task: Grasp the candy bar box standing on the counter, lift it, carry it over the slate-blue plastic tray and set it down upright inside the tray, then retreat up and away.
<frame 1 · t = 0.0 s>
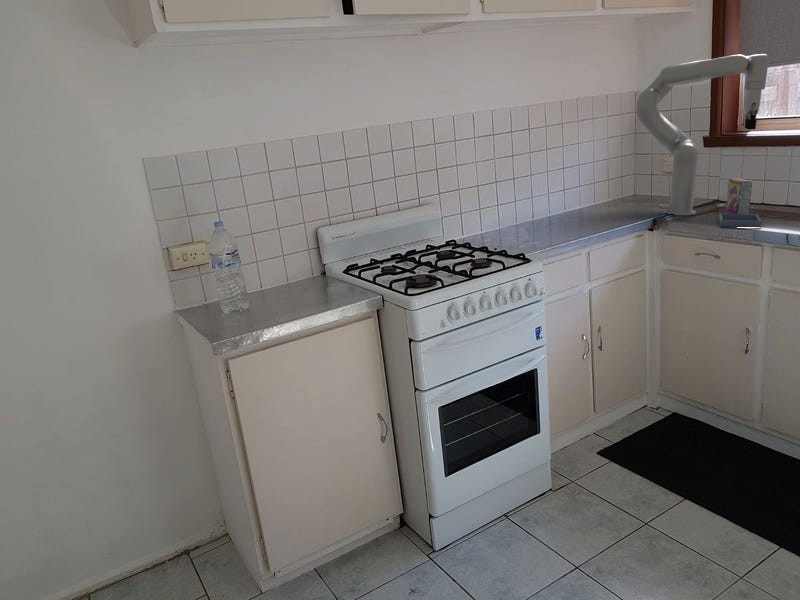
hand: (749, 128, 270), 37 cm above the worktop, tool pointing down, fingers open, 9 cm apart
mug: (680, 206, 309), on the worktop
candy bar box: (735, 218, 274), on the worktop
tray: (738, 224, 260), on the worktop
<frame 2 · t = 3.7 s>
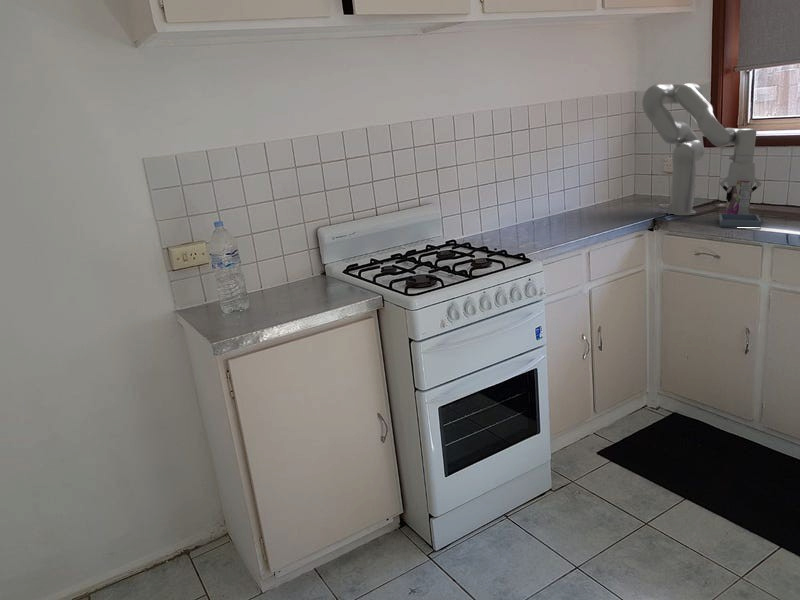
hand: (738, 201, 272), 7 cm above the worktop, tool pointing down, fingers closed on candy bar box, 6 cm apart
candy bar box: (736, 218, 274), on the worktop, touching gripper
everything else where it was.
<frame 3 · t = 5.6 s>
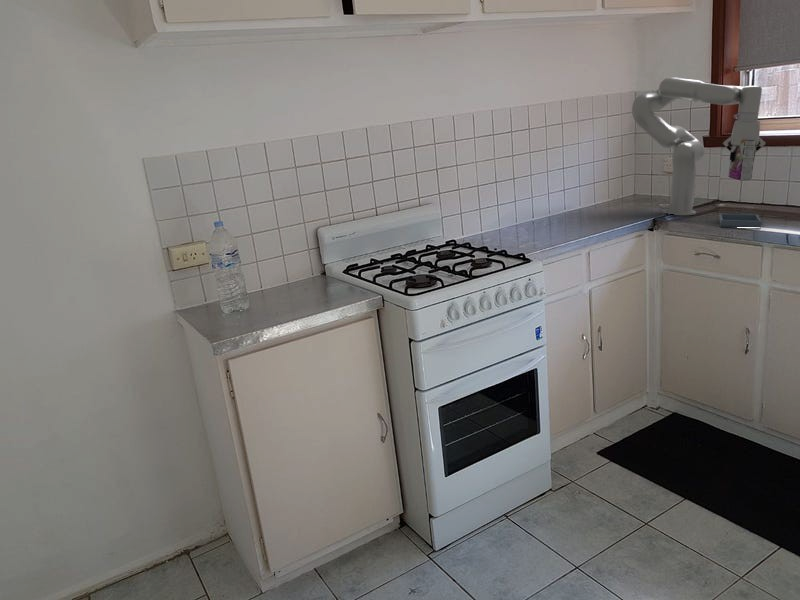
hand: (741, 161, 267), 24 cm above the worktop, tool pointing down, fingers closed on candy bar box, 6 cm apart
candy bar box: (739, 179, 270), point 16 cm above the worktop, touching gripper
everything else where it was.
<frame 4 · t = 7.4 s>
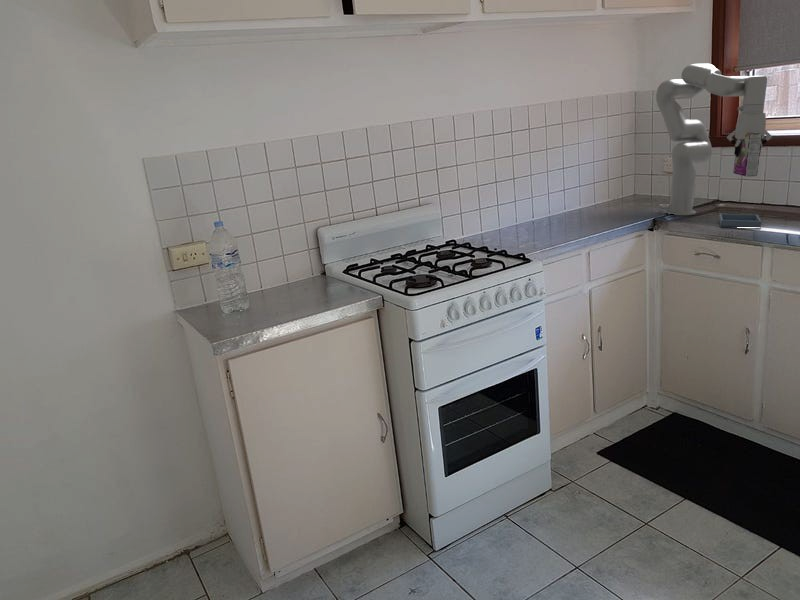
hand: (746, 156, 252), 27 cm above the worktop, tool pointing down, fingers closed on candy bar box, 6 cm apart
candy bar box: (744, 175, 254), point 20 cm above the worktop, touching gripper
everything else where it was.
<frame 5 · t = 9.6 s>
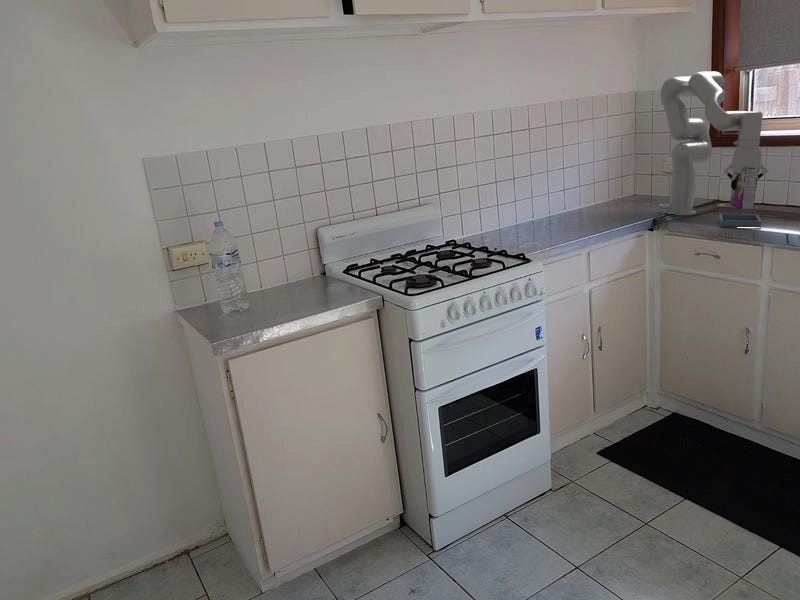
hand: (743, 189, 256), 14 cm above the worktop, tool pointing down, fingers closed on candy bar box, 6 cm apart
candy bar box: (741, 208, 258), point 7 cm above the worktop, touching gripper
everything else where it was.
when the fingers open (9 cm above the worktop, at t = 11.5 s): candy bar box drops 1 cm, resting on tray.
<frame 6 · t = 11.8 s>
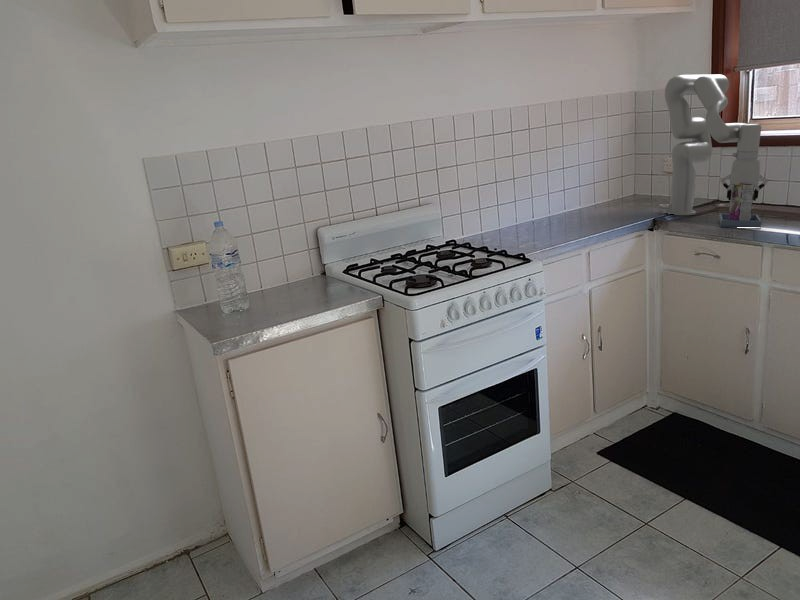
hand: (741, 200, 257), 10 cm above the worktop, tool pointing down, fingers open, 8 cm apart
candy bar box: (738, 223, 260), point 1 cm above the worktop, touching tray
everything else where it was.
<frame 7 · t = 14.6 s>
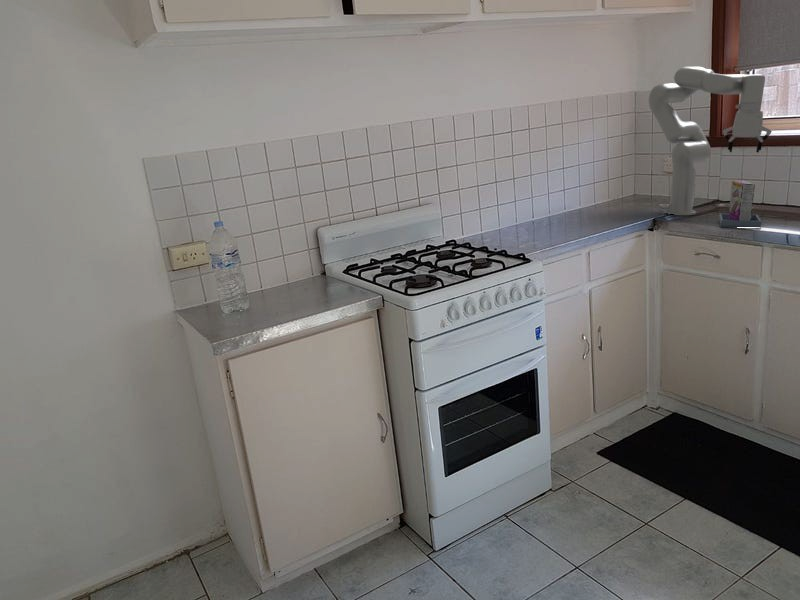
hand: (743, 152, 257), 29 cm above the worktop, tool pointing down, fingers open, 9 cm apart
nothing on the worktop moved.
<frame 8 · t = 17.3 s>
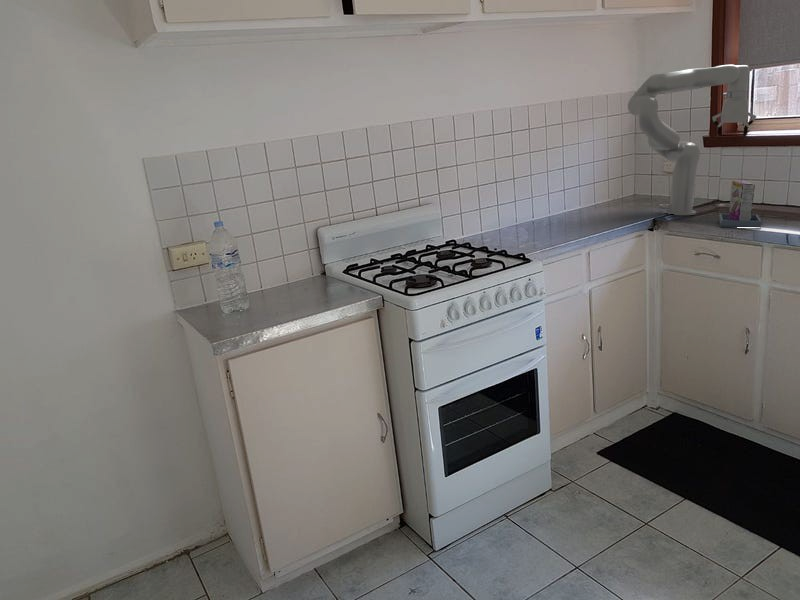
hand: (731, 136, 282), 33 cm above the worktop, tool pointing down, fingers open, 9 cm apart
nothing on the worktop moved.
at the end: candy bar box inside the target area on the tray (0.1 cm from its centre), point 0.6 cm above the tray's base; candy bar box tilted 0°; the gripper is holding nothing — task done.
